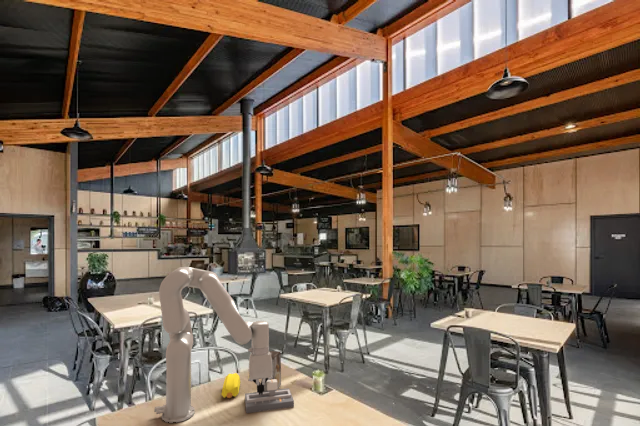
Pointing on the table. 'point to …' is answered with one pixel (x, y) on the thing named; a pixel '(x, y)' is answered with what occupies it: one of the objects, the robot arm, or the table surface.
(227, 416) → the table surface
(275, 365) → the coffee box
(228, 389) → the yellow rounded capsule
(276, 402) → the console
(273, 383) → the fader tab
